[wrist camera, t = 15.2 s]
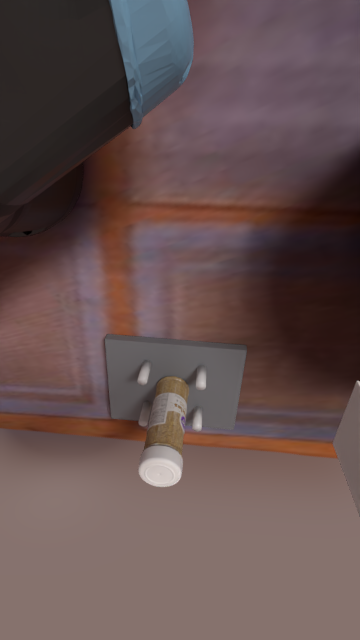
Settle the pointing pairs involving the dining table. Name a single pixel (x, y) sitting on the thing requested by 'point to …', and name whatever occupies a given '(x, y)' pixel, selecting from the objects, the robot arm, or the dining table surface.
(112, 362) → the pin tray
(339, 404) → the dining table surface
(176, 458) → the sprinkles bottle
